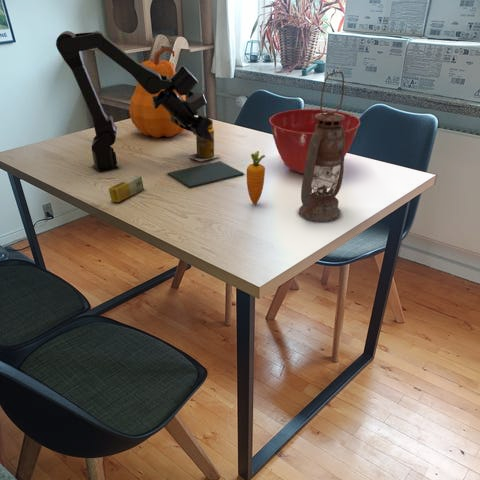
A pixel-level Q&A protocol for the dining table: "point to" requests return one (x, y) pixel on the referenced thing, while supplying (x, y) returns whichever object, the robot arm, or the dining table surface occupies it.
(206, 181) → the placemat
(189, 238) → the dining table surface
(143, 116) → the decorative pumpkin
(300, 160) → the mixing bowl
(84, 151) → the dining table surface
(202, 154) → the condiment
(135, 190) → the medication box
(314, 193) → the lantern
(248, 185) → the carrot
